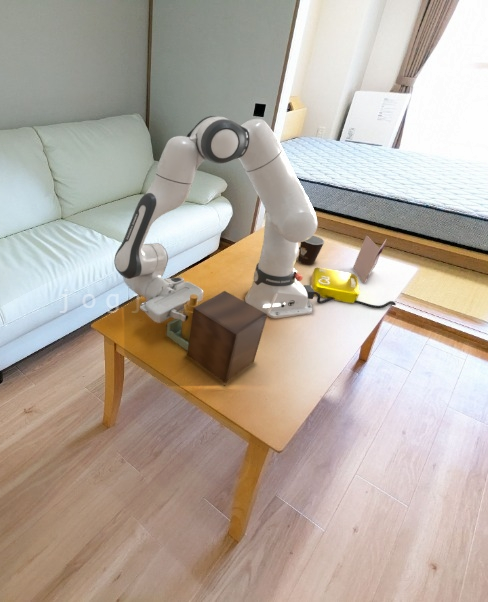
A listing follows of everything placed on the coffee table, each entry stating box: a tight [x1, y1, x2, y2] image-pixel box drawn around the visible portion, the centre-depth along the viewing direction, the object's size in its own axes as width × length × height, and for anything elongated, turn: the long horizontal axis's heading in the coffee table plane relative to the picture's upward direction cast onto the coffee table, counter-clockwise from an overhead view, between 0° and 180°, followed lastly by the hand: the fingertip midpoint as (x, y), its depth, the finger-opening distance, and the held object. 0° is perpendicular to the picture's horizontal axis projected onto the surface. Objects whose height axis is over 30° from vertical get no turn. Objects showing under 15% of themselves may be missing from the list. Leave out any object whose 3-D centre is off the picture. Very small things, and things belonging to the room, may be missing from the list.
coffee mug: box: [297, 235, 325, 266], centre depth 155 cm, size 12×9×10 cm
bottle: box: [180, 294, 200, 341], centre depth 111 cm, size 5×5×15 cm
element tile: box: [310, 266, 360, 304], centre depth 138 cm, size 15×15×5 cm
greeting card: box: [352, 235, 387, 284], centre depth 143 cm, size 11×7×15 cm, turn 139°
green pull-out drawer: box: [165, 318, 189, 352], centre depth 113 cm, size 16×10×6 cm, turn 39°
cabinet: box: [186, 290, 268, 387], centre depth 103 cm, size 14×13×18 cm
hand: (193, 314), depth 110 cm, fingers closed on bottle, 5 cm apart
